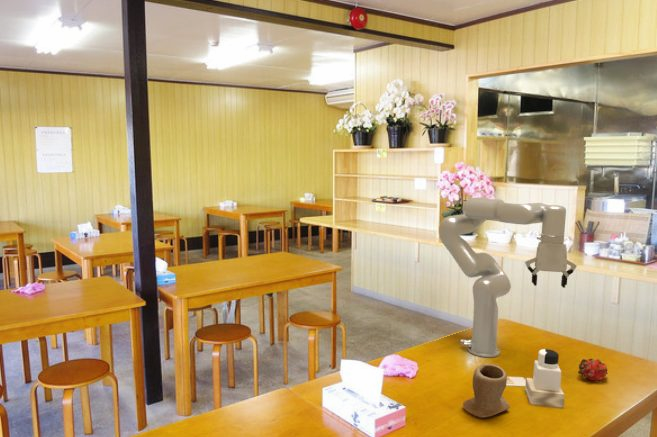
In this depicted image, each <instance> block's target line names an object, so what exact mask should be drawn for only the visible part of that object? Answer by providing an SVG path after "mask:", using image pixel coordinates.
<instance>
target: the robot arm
mask: <svg viewBox="0 0 657 437" xmlns="http://www.w3.org/2000/svg"><path fill="white" fill-rule="evenodd" d="M462 213H463V214H457V215H456V214H455V215H449V216H446V217H444V218H443V219H442V220H441V221H440V223H439V226H438V235H439V240H440V241H441V243H442V244H443V246H444V247H445V249H446V250H448V252H449V254H450V255H451V256H452V258H453V260H454V261H455V262H456V264H457V266H459V268H460V270H461V271H462V273H463V274H464V275H465V276H467V278H478V277H479V278H478V279H476V280H475V281H474V283H473V285H472V295H473V317H472V318H473V319H472V337H470V338H469V339H462V338H461V339H460V345H463V346H464V347H467V351H468V352H469V353H470V354H471V355H475V356H478V357H483V358H494V357H498V356H499V355H500V352H501V350H500V349H499V348H498V347H497V338H498V320H499V307H498V302H497V299H498V298H501V297H504V296H506V295H507V294H509V292H510V290H511V287H512V285H511V281H510V279H509V277H508V275H507V274H506V273H505V271H504V270H503V269H502V267H501V266H500V265H499V263H498V262H497V261H496V259H495V258H494V257H493V256H492V255H491V254H489V253H487V252H475V250H473V248H472V246H471V245H470V244H469V243H468V242H467V241H466V240H465V239H464V238H462V237H461V235H467V234H471V233H473V232H474V231H476V230H477V229H478V228H479V227H480V226H481V225H483V224H484V222H486V221H494V222H499V223H503V224H504V223H506V224H515V225H532V224H540V223H542V224H541V234H540V235H536V240H538V245H537V248H536V254H535V257H533V258H530V259H528V260H526V261H524V263H525V266H526V268H527V270H528V271H529V272H530V273H531V283H532V284H533V285H534V287H535V286H536V287H537V284H538V275H537V274H538V273H539V272H541V271H542V272H551V273H553V272H554V273H555V272H556V273H562V275H561V283H560V285H561V287H562V288H564V289H565V288H566V286H567V285H568V277H569V276H570V275H572V274H573V273H574V271H575V270H576V268H577V265H576V264H575V263H574V262H572V261H570V260H568V251H567V250H568V249H567V244H565V243H564V242H565V230H566V229H565V228H566V219H567V208H566V207H565V206H564V205H558V204H557V205H556V204H554V205H553V204H545V203H541V202H531V203H513V202H512V203H509V202H505V201H503V200H502V199H496V198H488V197H483V196H482V197H481V196H480V197H471V198H468V199H466V200H465V201H464V203H463V205H462ZM533 263H534V266H535V267H534V268H532V267H531V264H533ZM568 266H570V268H569V269H568V270H567V268H568Z"/></svg>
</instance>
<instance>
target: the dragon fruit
mask: <svg viewBox="0 0 657 437" xmlns="http://www.w3.org/2000/svg"><path fill="white" fill-rule="evenodd" d="M578 374H580V376H581V378H582V379H585V380H586V381H590V380H591V381H593V382H595V383H598V382H599V381H600V382H602V381H603V380H604V378H605V377H606V376H607V375H608V368H607V365H606V363H604V362H603V363H602V360H600V358H599V359H598V358H597V359H594V358H588V359H586V358H583V359H582V360H581V361H580V363H579V364H578Z"/></svg>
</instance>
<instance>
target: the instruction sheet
mask: <svg viewBox="0 0 657 437" xmlns="http://www.w3.org/2000/svg"><path fill="white" fill-rule="evenodd" d="M506 387H526V378H524V377H522V376H507V383H506Z"/></svg>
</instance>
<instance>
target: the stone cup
mask: <svg viewBox="0 0 657 437" xmlns="http://www.w3.org/2000/svg"><path fill="white" fill-rule="evenodd" d="M507 377H508V376H507V373H506V371H505V370H504V368H502V367H501V366H499V365H497V364H493V363H483V364H480V365H479V366H477V367H476V369H475V370H474V371H473V376H472V390H473V395H474V397H472V398H468V399H467V400H465V401H463V402H462V408H464V410H465V411H467V412H468V413H470V414H472V415H473V416H476V417H477V418H489V417H492V416H495V415H498V414H499V413H502V412H505V411H506V410H508V409H510V408H511V405H510V404H509V403H508V401H507V400H506V398H504V396H503V394H504V391H505V389H506V387H507V386H506V383H507Z"/></svg>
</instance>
